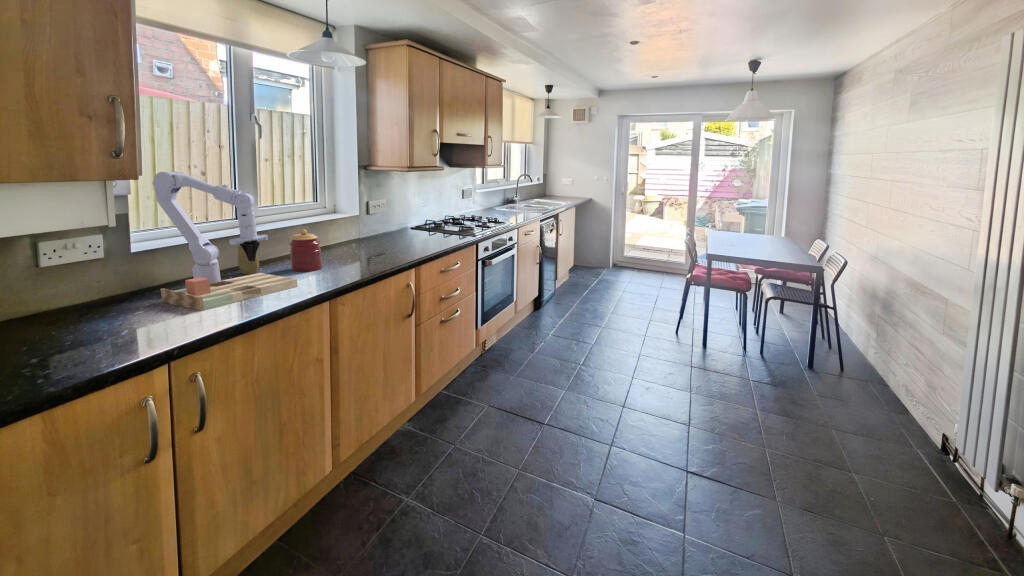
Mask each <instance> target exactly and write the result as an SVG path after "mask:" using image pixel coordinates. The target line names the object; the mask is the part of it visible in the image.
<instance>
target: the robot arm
mask: <svg viewBox="0 0 1024 576" xmlns="http://www.w3.org/2000/svg"><path fill="white" fill-rule="evenodd" d="M151 184H152V185H153V187H154V192H155V197H156V198H155V199H156V202H157V203H158V205H159V206H160V207H161V209H162V210H163V211H164V213H165V214H166V216H168V218H169V219H170V220H171V222H172V223H173V225H174V226H175V227H176V229H177V230H178V231H179V233H180V234H181V235H182V236H183V238H184V239H185V241H186V242H187V243H188V250H189V252H191V256H192V259H193V261H194V262H195V264H194V265H193V266H192V270H191V271H192V276H193V278H192V279H194V278H199V277H201V278H207V279H209V283H213V282H217V281H222V279H221V271H220V264H219V260H218V258H219V256H220V250H219V248H218V247H217V246H216V245H215V244H212V242H210V240H209V239H207V238H206V237H204V236H203V234H202V233H201V232H200V231H199V230H198V228H197V227H196V225H195V224H194V222H193V221H192V220H191V218H190V217H189V216H188V215H187V213H186V212H185V211H184V209H183V208H182V206H181V204H179V202H178V201H177V196H178V194H179V191H180V190H181V189H182V188H186V187H188V188H192V189H195V190H198V191H200V192H201V191H202V192H204V193H208V194H210V195H212V196H213V198H214V199H215V200H217V201H221V202H222V203H225V204H228V205H232V206H234V207H235V208H236V210H237V220H238V228H239V237H236V238H229V239H228V240H229V245H231V246H235V245H240V246H241V247H242V248H243V250H244V251H245V253H246V255H247V258H248V260H249V261H255V257H256V252H257V253H258V249H259V247H260V245H261V243H260V241H268V240H269V238H268V234H258V232H257V230H258V229H257V223H256V213H255V209H254V205H255V204H256V203H255V202H256V200H255V197H254V196H253V195H252V194H250V193H249V192H242V190H241V189H238V190H237V189H235V188H234V189H233V188H232V187H229V185H228V184H224V183H223V184H217V185H213V184H212V183H208V182H207V181H204V180H201V179H199V178H197V177H194V176H191V175H189V174H186V173H182V172H181V173H180V172H179V171H175V170H171V171H160V172H157V173H156V174H155V175H154V177H153V181H152V183H151ZM248 240H251V241H248Z"/></svg>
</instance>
